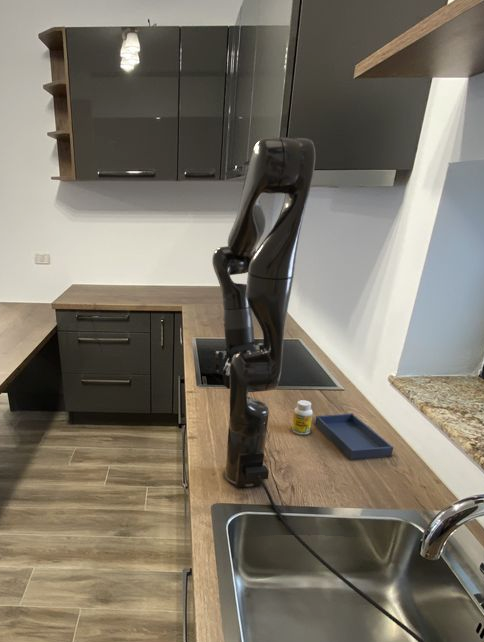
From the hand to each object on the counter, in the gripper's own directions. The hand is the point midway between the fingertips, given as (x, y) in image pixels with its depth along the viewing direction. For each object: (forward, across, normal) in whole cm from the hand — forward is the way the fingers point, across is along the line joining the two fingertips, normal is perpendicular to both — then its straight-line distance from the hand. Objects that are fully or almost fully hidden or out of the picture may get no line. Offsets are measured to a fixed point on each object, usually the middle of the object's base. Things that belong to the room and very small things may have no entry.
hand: (243, 385), depth 120 cm
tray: (+22, +32, -2) cm, 39 cm away
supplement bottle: (+20, +21, +6) cm, 30 cm away
